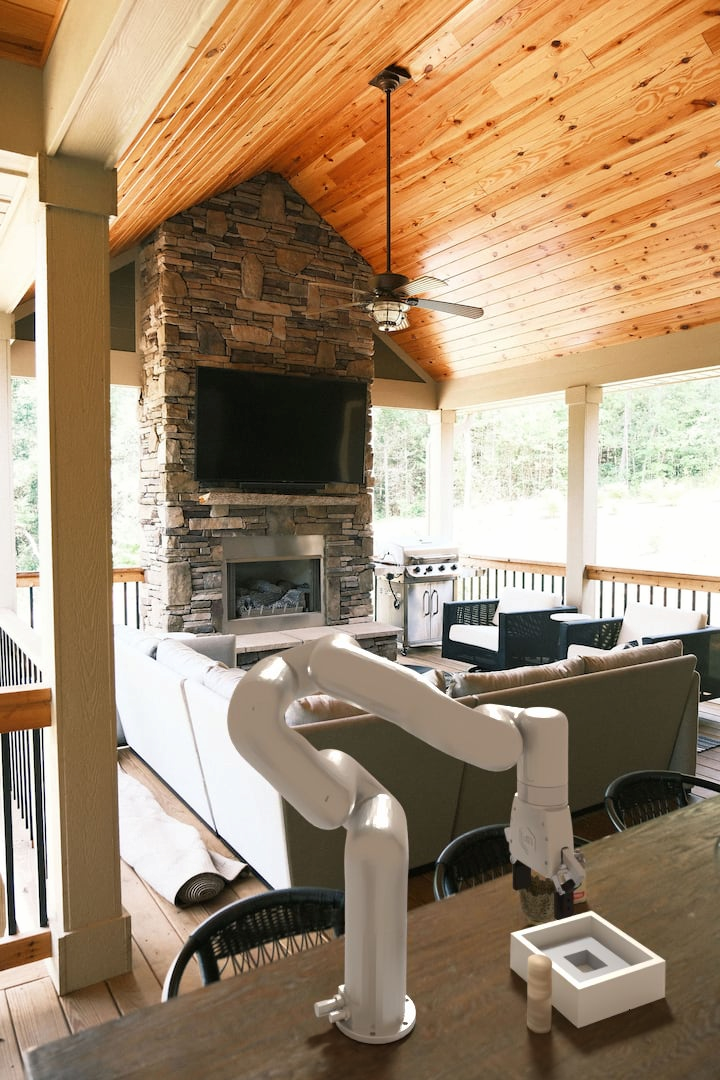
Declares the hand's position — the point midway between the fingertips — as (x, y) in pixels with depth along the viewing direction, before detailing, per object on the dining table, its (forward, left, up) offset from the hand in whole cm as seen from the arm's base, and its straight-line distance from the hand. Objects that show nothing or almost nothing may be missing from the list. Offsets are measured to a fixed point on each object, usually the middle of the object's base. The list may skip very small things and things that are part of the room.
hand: (542, 902), depth 115 cm
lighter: (+30, +28, -19) cm, 45 cm away
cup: (+18, +23, -19) cm, 35 cm away
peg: (0, 0, -19) cm, 19 cm away
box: (+14, +5, -19) cm, 24 cm away
